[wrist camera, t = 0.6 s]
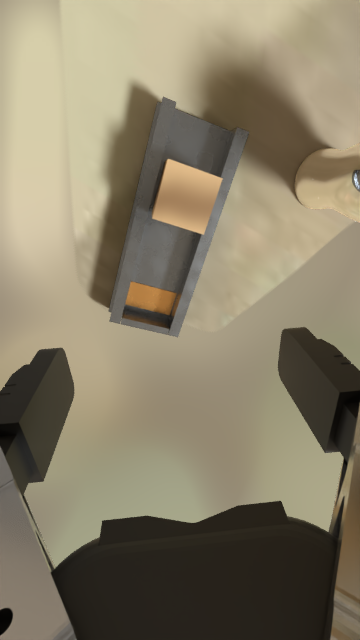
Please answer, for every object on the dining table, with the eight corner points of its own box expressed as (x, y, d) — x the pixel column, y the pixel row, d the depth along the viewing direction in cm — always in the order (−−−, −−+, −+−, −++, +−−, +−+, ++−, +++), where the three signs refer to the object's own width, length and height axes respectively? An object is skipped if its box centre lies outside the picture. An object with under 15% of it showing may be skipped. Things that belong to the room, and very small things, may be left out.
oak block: (164, 161, 29) (168, 158, 25) (211, 178, 30) (222, 178, 26) (151, 212, 31) (152, 218, 27) (195, 226, 32) (203, 234, 28)
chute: (157, 104, 28) (158, 94, 25) (242, 138, 30) (253, 133, 27) (109, 308, 37) (105, 320, 34) (178, 324, 39) (180, 337, 35)
